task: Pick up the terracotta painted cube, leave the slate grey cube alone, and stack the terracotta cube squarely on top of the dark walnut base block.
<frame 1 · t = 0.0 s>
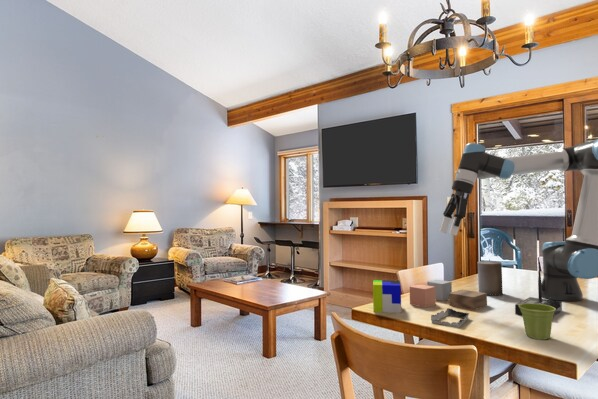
hand: (447, 233, 156), 28 cm above the table, tool tilted 20°, fingers open, 13 cm apart
terracotta cube: (422, 304, 157), on the table
pillar candle: (490, 293, 175), on the table
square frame: (452, 322, 134), on the table
puzzle toy: (387, 309, 151), on the table
slate grey cube: (439, 298, 167), on the table
plant pot: (537, 337, 116), on the table
walnut base block: (468, 306, 154), on the table
wireless controller: (540, 313, 144), on the table
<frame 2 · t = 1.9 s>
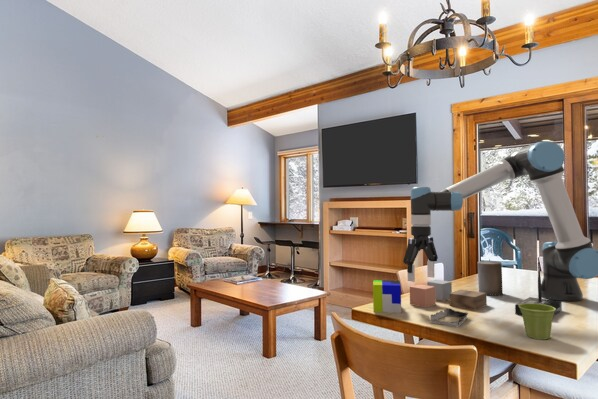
hand: (421, 279, 158), 10 cm above the table, tool pointing down, fingers open, 13 cm apart
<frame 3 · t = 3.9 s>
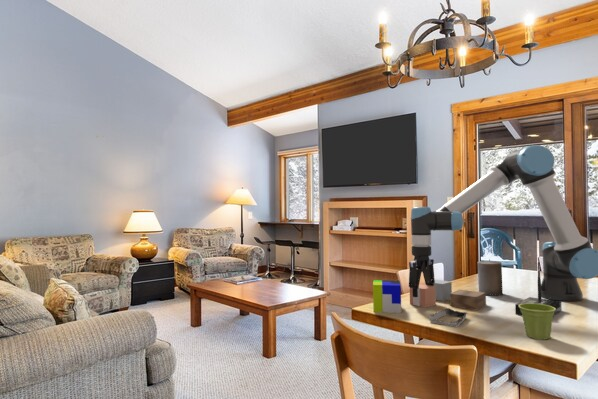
hand: (422, 303, 158), 0 cm above the table, tool pointing down, fingers open, 7 cm apart
terracotta cube: (422, 304, 157), on the table, touching gripper
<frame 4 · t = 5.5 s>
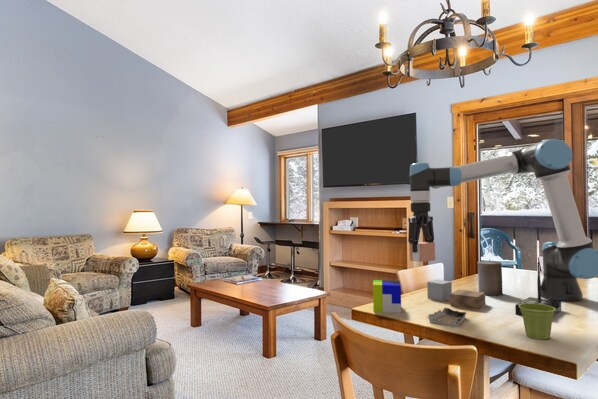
hand: (422, 259, 158), 18 cm above the table, tool pointing down, fingers closed on terracotta cube, 7 cm apart
terracotta cube: (422, 260, 158), point 17 cm above the table, touching gripper
everything else where it was.
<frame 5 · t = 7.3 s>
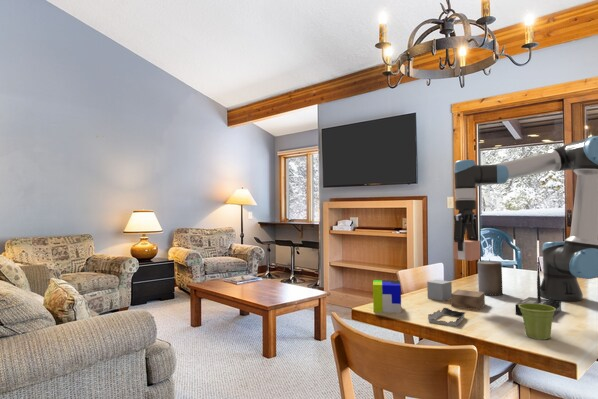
hand: (466, 258, 155), 18 cm above the table, tool pointing down, fingers closed on terracotta cube, 7 cm apart
terracotta cube: (467, 259, 155), point 18 cm above the table, touching gripper
when the fingers open (6 cm above the table, at t = 10.1 s): terracotta cube drops 1 cm, resting on walnut base block.
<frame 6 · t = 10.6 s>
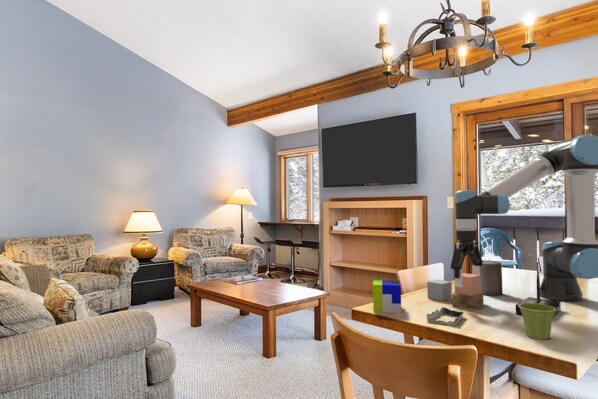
hand: (467, 284, 155), 8 cm above the table, tool pointing down, fingers open, 13 cm apart
terracotta cube: (468, 293, 154), point 5 cm above the table, touching walnut base block
walnut base block: (468, 306, 154), on the table, touching terracotta cube
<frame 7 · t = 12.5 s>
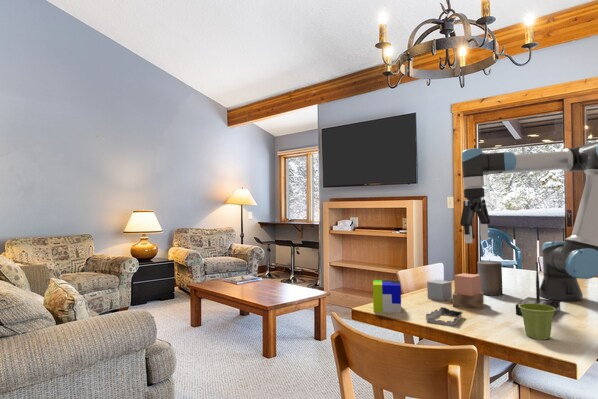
hand: (476, 241, 157), 24 cm above the table, tool pointing down, fingers open, 13 cm apart
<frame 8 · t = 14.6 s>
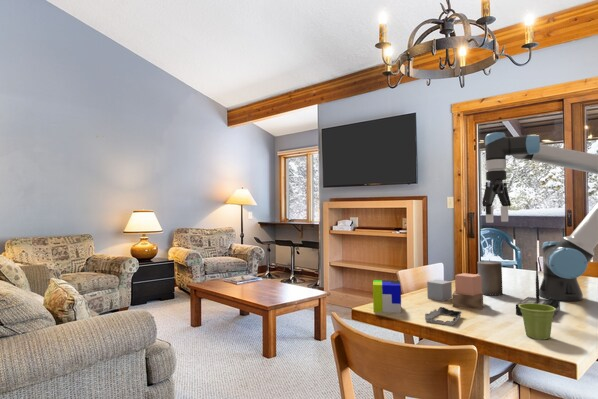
hand: (497, 222, 163), 32 cm above the table, tool pointing down, fingers open, 13 cm apart
at the end: terracotta cube 0.3 cm off-centre on the walnut base block, point 5.0 cm above the walnut base block's base; the gripper is holding nothing; slate grey cube moved 0.1 cm from its start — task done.
